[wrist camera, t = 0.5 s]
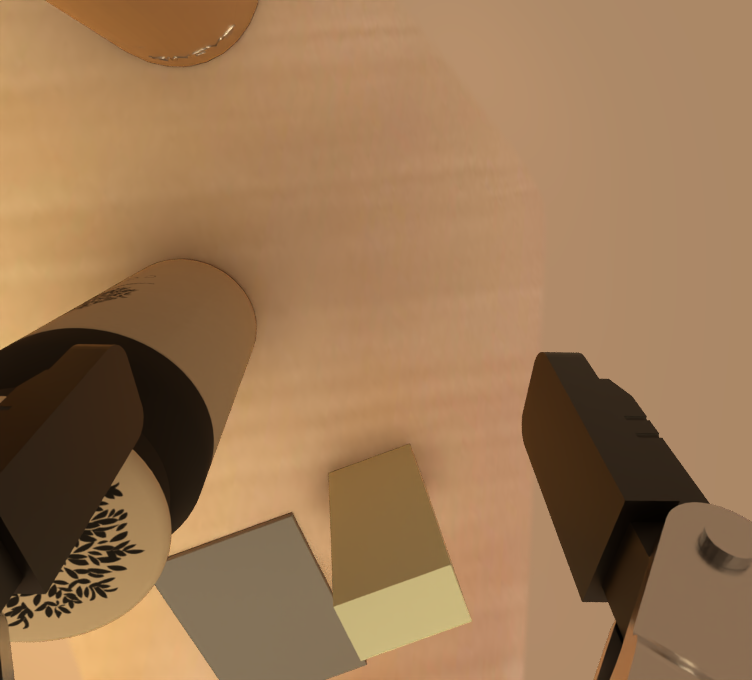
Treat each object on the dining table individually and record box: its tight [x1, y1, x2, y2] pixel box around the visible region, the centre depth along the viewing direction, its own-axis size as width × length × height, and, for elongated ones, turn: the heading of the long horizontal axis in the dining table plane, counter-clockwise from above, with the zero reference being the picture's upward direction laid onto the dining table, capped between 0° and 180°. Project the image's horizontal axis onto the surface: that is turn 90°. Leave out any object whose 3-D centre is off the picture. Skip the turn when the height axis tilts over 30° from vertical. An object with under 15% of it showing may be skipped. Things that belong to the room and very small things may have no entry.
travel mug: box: [0, 259, 256, 642], centre depth 21 cm, size 8×8×18 cm
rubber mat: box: [155, 513, 367, 680], centre depth 37 cm, size 16×11×1 cm
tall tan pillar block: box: [328, 444, 472, 661], centre depth 29 cm, size 4×6×11 cm, turn 109°
